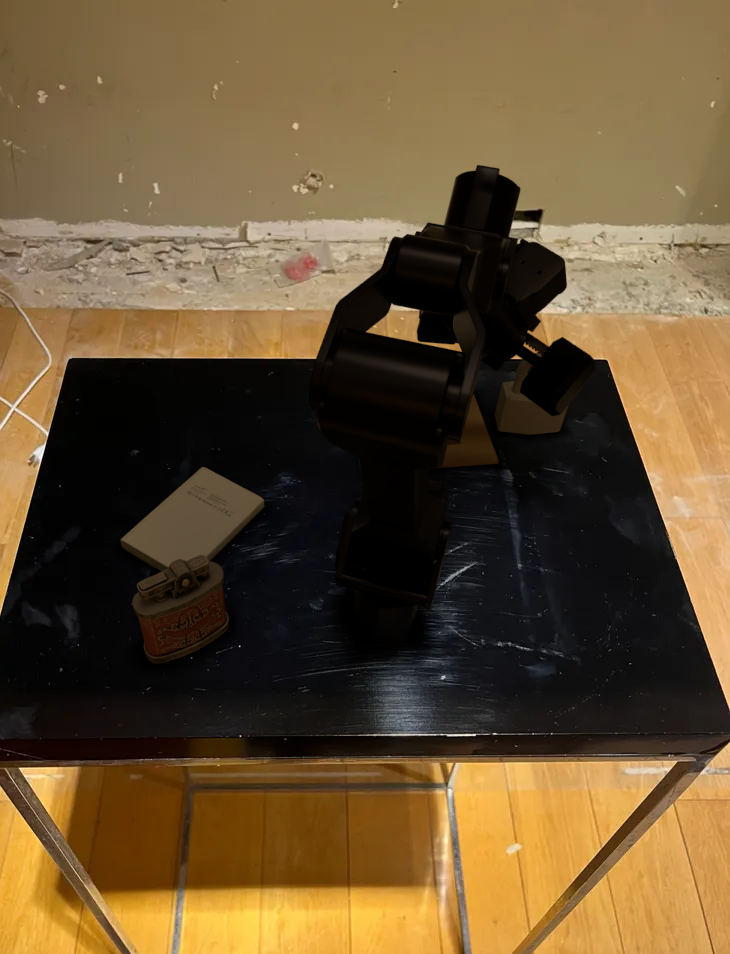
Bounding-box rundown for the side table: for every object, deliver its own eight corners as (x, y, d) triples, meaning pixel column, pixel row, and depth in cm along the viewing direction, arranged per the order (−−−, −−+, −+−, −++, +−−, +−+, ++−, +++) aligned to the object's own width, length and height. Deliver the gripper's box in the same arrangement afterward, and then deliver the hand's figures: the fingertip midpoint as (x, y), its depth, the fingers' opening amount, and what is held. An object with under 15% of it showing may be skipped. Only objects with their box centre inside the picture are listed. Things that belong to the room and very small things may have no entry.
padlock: (498, 435, 93) (516, 364, 85) (493, 412, 96) (510, 340, 88) (560, 436, 93) (584, 365, 86) (553, 412, 96) (576, 341, 88)
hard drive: (122, 549, 81) (203, 475, 88) (186, 587, 78) (264, 508, 85) (119, 538, 80) (201, 464, 87) (184, 577, 77) (264, 497, 84)
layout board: (497, 463, 90) (498, 459, 90) (371, 472, 89) (372, 468, 88) (471, 393, 98) (472, 389, 97) (355, 400, 96) (355, 396, 96)
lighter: (218, 605, 77) (209, 535, 69) (235, 630, 75) (229, 562, 68) (138, 643, 74) (120, 575, 66) (154, 671, 72) (138, 604, 65)
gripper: (614, 282, 67) (654, 345, 80) (456, 189, 76) (515, 259, 89) (526, 394, 70) (579, 438, 83) (384, 291, 79) (452, 345, 92)
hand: (531, 365), depth 87 cm, fingers open, 9 cm apart
